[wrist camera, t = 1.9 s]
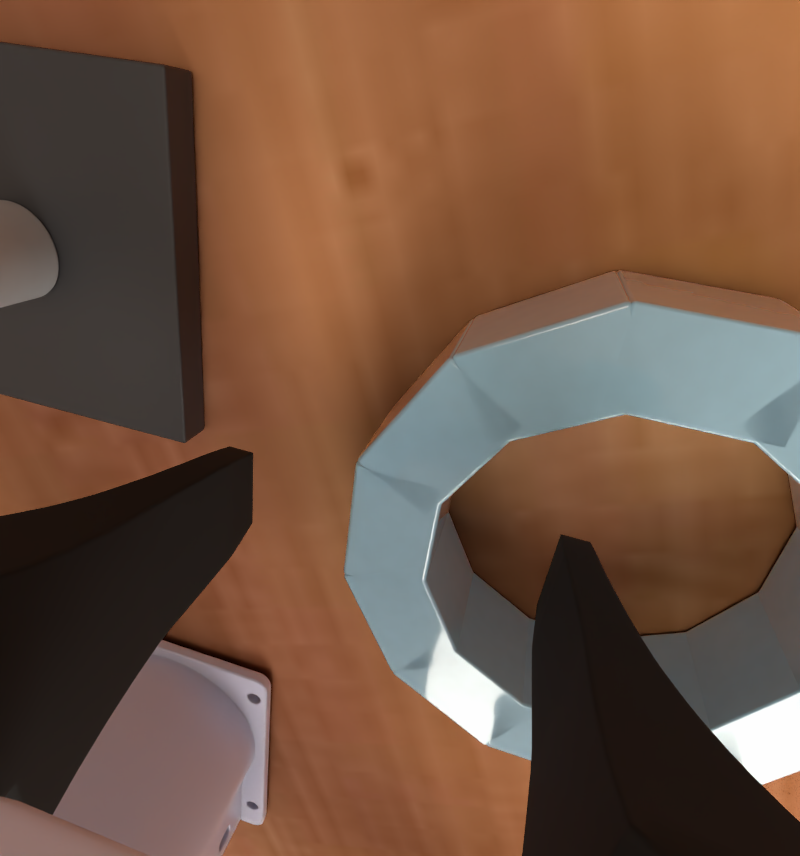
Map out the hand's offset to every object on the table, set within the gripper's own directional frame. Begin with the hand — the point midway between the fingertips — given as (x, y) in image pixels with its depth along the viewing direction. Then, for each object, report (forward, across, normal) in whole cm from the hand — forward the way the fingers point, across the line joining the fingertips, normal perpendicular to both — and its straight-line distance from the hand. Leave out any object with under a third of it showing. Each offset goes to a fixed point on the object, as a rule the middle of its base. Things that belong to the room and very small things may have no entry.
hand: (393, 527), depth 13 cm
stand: (+3, +11, -4) cm, 12 cm away
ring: (+3, -5, 0) cm, 6 cm away
